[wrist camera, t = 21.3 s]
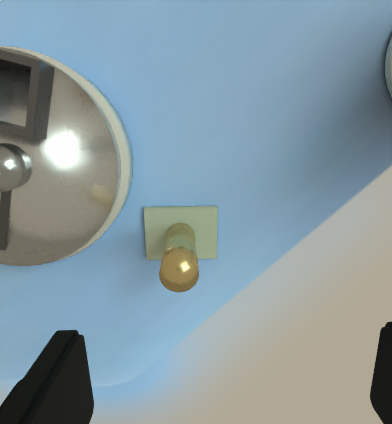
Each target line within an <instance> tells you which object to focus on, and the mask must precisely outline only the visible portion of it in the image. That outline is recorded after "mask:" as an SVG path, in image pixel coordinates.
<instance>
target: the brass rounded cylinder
mask: <svg viewBox="0 0 392 424" xmlns="http://www.w3.org/2000/svg"><path fill="white" fill-rule="evenodd" d="M159 277H160V280H161V283H162V284H163V285H164V286H165V287H166V288H167V289H169V290H171V291H174V292H184V291H187V290H189V289H191V288H192V287H193V286H194V285H195V284H196V282H197V280H198V277H199V271H198V261H197V250H196V240H195V232H194V230H193V229H192V227H191V226H189V225H188V224H185V223H176V224H174V225H172V226H171V227H170V228H169V229H168V231H167V234H166V239H165V245H164V250H163V256H162V261H161V266H160V272H159Z"/></svg>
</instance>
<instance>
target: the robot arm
mask: <svg viewBox="0 0 392 424" xmlns="http://www.w3.org/2000/svg"><path fill="white" fill-rule="evenodd" d="M385 77H386V83H387V87H388V90H389V93H390V95H391V97H392V37H391V40H390V42H389V45H388V48H387V54H386V59H385ZM370 399H371V403H372V406H373V408H374V410H375V411H376V413H377V414H378V416H379V417H380V419H381V420H382V422H383V423H384V424H392V322H387V324H386V325H385V327H383V328H382V329H381V332H380V338H379V344H378V350H377V356H376V362H375V368H374V374H373V380H372V386H371V392H370ZM93 408H94V401H93V394H92V387H91V380H90V374H89V367H88V361H87V354H86V347H85V341H84V336H83V335H79V334H78V331H77V330H59V331H56V333H55V334H54V335H53V336H52V338H51V339H50V341H49V342H48V344H47V345H46V347H45V348H44V349H43V351H42V352H41V354H40V355H39V357H38V358H37V359H36V361H35V362H34V364H33V365H32V367H31V368H30V369H29V371H28V372H27V374H26V375H25V377H24V378H23V379H22V380H20V381H19V382H18V383H17V384H16V385H15V386H14V388H13V389H12V391H11V392H10V393H9V395H8V396H7V398H6V399H5V400H4V402H3V403H2V405H1V406H0V424H89V422H90V420H91V417H92V414H93Z"/></svg>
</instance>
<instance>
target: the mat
mask: <svg viewBox="0 0 392 424" xmlns="http://www.w3.org/2000/svg"><path fill="white" fill-rule="evenodd" d="M217 214H218V207H217V206H156V207H144V223H145V242H146V260H162V256H163V250H164V245H165V239H166V234H167V231H168V229H169V228H170V227H171V226H172V225H174V224H176V223H185V224H188V225H189V226H191V227H192V229H193V230H194V232H195V240H196V250H197V259H217Z"/></svg>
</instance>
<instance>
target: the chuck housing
mask: <svg viewBox="0 0 392 424" xmlns="http://www.w3.org/2000/svg"><path fill="white" fill-rule="evenodd" d="M0 47H4V48H9V49H14V50H19V51H22V52H25V53H28V54H31V55H34V56H36V57H38V58H40V59H42V60H44V61H46V62H49V63H50V64H52V65H54V66H56V67H58V68H59V69H61V70H62V71H64V72H65V73H67V74H68V75H70V76H71V77H73V78H74V79H75V80H76V81H77V82H79V83H80V84H81V85H82V86H83V87H84V88H85V89H86V90H87V91H88V92H89V93H90V94H91V95H92V96H93V98H94V99H95V100H96V102H97V103H98V104H99V106H100V107H101V108H102V110H103V112H104V113H105V115H106V117H107V118H108V120H109V122H110V124H111V127H112V129H113V131H114V134H115V137H116V140H117V144H118V147H119V153H120V159H121V181H120V189H119V193H118V197H117V201H116V203H115V205H114V208H113V210H112V212H111V214H110V216H109V217H108V219H107V221H106V222H105V224H104V225H103V226H102V227H101V229H100V230H99V231H98V232H97V233H96V234H95V236H94V237H92V238H91V239H90V240H89V241H88V242H87V243H86V244H85V245H84V246H82V247H81V248H79V249H78V250H77V251H75V252H73V253H72V254H70V255H68V256H66V257H69V256H72V255H74V254H76V253H78V252H80V251H82V250H84V249H85V248H87V247H88V246H89V245H91V244H92V243H94V242H95V241H96V240H97V239H98V238H99V237H100V236H101V235H102V234H103V233H104V232H105V231H106V230H107V228H108V227H109V226H110V225H111V224H112V223H113V221H114V220H115V219H116V218H117V217H118V215H119V213H120V212H121V210H122V208H123V207H124V205H125V202H126V200H127V198H128V195H129V191H130V188H131V183H132V176H133V157H132V149H131V145H130V141H129V137H128V134H127V131H126V129H125V126H124V124H123V122H122V120H121V118H120V116H119V114H118V113H117V111H116V109H115V108H114V107H113V105H112V104H111V102H110V101H109V100H108V99H107V97H106V96H105V95H104V94H103V93H102V92H101V91H100V90H99V89H98V88H97V87H96V86H95V85H93V84H92V83H91V82H90V81H89V80H87V79H86V78H85V77H83V76H82V75H80V74H79V73H77V72H75V71H74V70H72V69H71V68H69V67H67V66H66V65H64V64H62V63H60V62H58V61H57V60H55V59H53V58H51V57H49V56H46V55H43V54H41V53H38V52H35V51H32V50H27V49H23V48H18V47H7V46H0ZM66 257H64V258H66ZM61 259H63V258H61ZM58 260H60V259H58Z"/></svg>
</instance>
